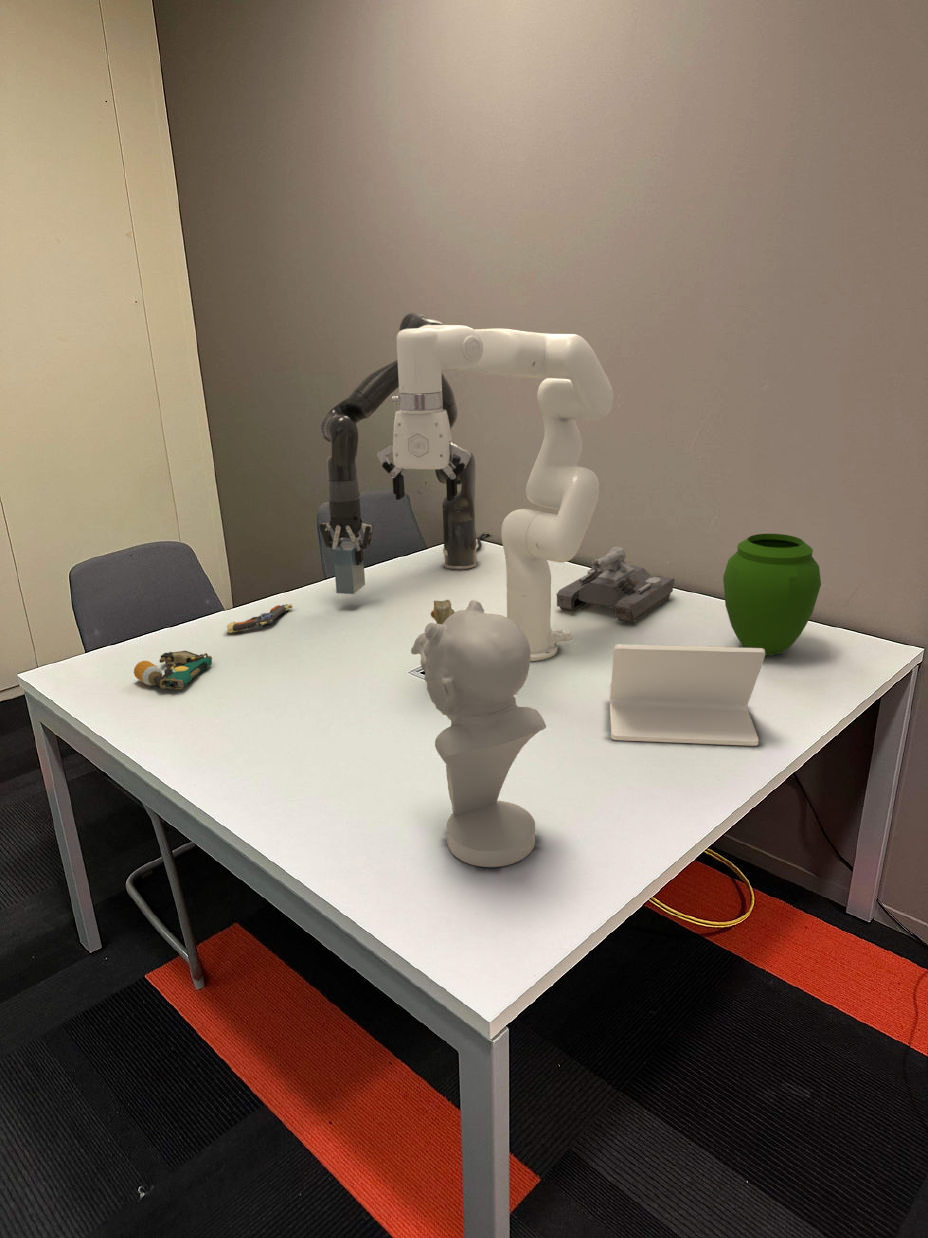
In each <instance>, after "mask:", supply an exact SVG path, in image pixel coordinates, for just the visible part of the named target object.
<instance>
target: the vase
mask: <svg viewBox="0 0 928 1238" xmlns="http://www.w3.org/2000/svg"><path fill="white" fill-rule="evenodd" d="M736 549H737V551H735V553H734V554H732V555H731V556H730V557H729V558H728V560H727V563H726V566H725V569H724V573H723V576H722V579H723V581H722V582H723V593H724V604H725V609H726V613H727V615H728V619H729V623H730V626H731V629H732V630H733V632H734V634H735V636H736V638H737V640H738V642H739V643H740V644H741V645H742V647H743V648H763V649H764V650H765V656H776V655H779V654H780V655H781V654H783V653H785V651H787V650H788V649H789V648H790V647H792V646H793V644H795V642H796V641H797V639H798V638H799V637H800V636H801V635H802V634H803V631H804V630H805V627H806V626H807V624H808V622H809V620H810V619H811V616H812V615H813V613H814V610H815V606H816V603H817V599H818V597H819V593H820V590H821V586H822V579H821V570H820V569H821V568H820V566H819V564H818V562H817V561H816V560H815V558H814V557H813V551H814V549H813V548H812V546H810V545H809V544H808V543H807V542H805V541H804V540H803V539H801V538H799V537H797V536H793V535H789V534H783V533H759V534H752V535H750V536H748V537H747V538H745V539H744V540H742V541H740V542H739V543H737V548H736Z"/></svg>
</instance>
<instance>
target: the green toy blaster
mask: <svg viewBox="0 0 928 1238" xmlns="http://www.w3.org/2000/svg"><path fill="white" fill-rule="evenodd" d="M212 660H213V657H212V656H211V655H208V653H207V652H205V653H201V654H197V653H194V652H192V651H191V652H190V651H188V650H180V651H169V652H164V653H162V654H161V655H160V658H159V660H158V662H159V663H161V664H163V663H165V664H166V668H165V670H163V672H164V674H163V673H162V669H160V668H159V666H157V665H156V664H154V663H152V662H151V661H149V660H141V661H139V662H138V663H136V665H135V666H134V668H133V675H134V677H135V678H136V679H137V680H139V681H140V682H142V683H143V684H145V685H147V686H155V685H157V686H158V687H160V688H161V689H171V690H172V689H173V690H182V689H184V687H185V686H186V685H188V684H189V683H190V682H191V681H192V679H193V678H195V677H196V676H197V675H198V674H200V673H201V672H202V671H203V670H206V669H208V668H209V667H210V666H211V665H212V662H213V661H212ZM178 663H179V664H181V665H179V666H176V665H177V664H178Z"/></svg>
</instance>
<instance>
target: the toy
mask: <svg viewBox="0 0 928 1238" xmlns="http://www.w3.org/2000/svg"><path fill="white" fill-rule="evenodd" d="M626 557H627V556H626V551H625V549H624V548H622V547H621V546H614V547H612V548H611V549H610V550H609V552H608V553H607V554H605V555H604V556H601V557H599V558H598V559H597V557H596V558H594V559H593V560H592V561H590V562H589V563H590V564H591V565H592V567H591V568H590V569H589V570H587V573H586V575H584V576H582V577H580V578H578V579H577V580H575V581H573V582H570V583H569V584H567V585H566V586H563V587H562V588H560V589H559V590H558V591H557V592H556V607H558V608H559V609H560V610H562V611H566V612H572V613H575V612H577V611H579V610H581V609H582V608H585V607H586V606H588V605H592V606H598V607H602V608H603V607H604V608H609V609H613V610H614V618H615V619H617V620H618V621H621V622H626V623H631V624H634V623H635V622H637V621H638V620H640V619H641V618H642V617H644V616H645V615H647V614H648V613H650V612H651V611H652V610H654V609H655V608H657V607H659V606H660V605H661V604H663V603H664V602H666V601H667V600H669V598H670V596H671V594H672V593H673V591H674V585H675V580H676V579H675V578H673V577H668V576H663V575H656V576H655V577H654V576H651V574H650V573H649V572H648V571H647V570H646V568H644V567H641V566H635V565H629V564H628V563H627V562H626V561H625V559H626Z"/></svg>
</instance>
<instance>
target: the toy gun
mask: <svg viewBox="0 0 928 1238" xmlns="http://www.w3.org/2000/svg"><path fill="white" fill-rule="evenodd" d="M292 608H293V604H292V603H286V604H281V605H280V604H278V605H275V606H274V607H272V608H270V610H269V612H263V613H261V614H260V615H259V616H258V615H257V616H252V617H251V618H248V619H247V620H245V621H239V622H236V621H232V622H230V623H228V624H227V625H226V628H227V632H228V633H229V634H232V633H236V632H239V631H244V630H248V629H253V628H255V627H258V626H263V625H264V626H265V625H268V624H272V623H273V622H274V621H275V620H276V619H277V618H278V617H279V616H281V615H282V614H284V613H285V612H286V611H288V610H291V609H292Z"/></svg>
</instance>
